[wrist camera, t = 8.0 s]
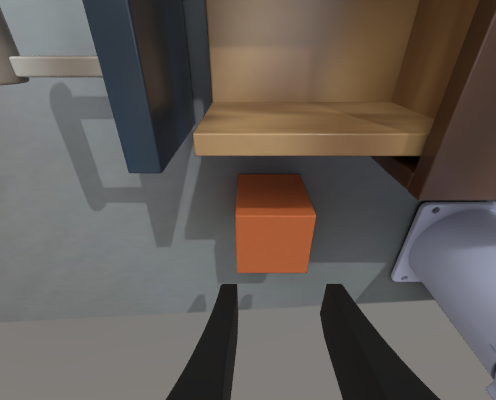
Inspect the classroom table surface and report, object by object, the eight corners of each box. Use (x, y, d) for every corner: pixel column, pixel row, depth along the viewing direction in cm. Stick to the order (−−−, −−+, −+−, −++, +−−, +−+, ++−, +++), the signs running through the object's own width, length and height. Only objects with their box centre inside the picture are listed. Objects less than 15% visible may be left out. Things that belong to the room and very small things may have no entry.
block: (299, 173, 17) (316, 215, 13) (294, 223, 20) (306, 273, 15) (238, 173, 17) (234, 215, 13) (239, 223, 20) (236, 273, 15)
